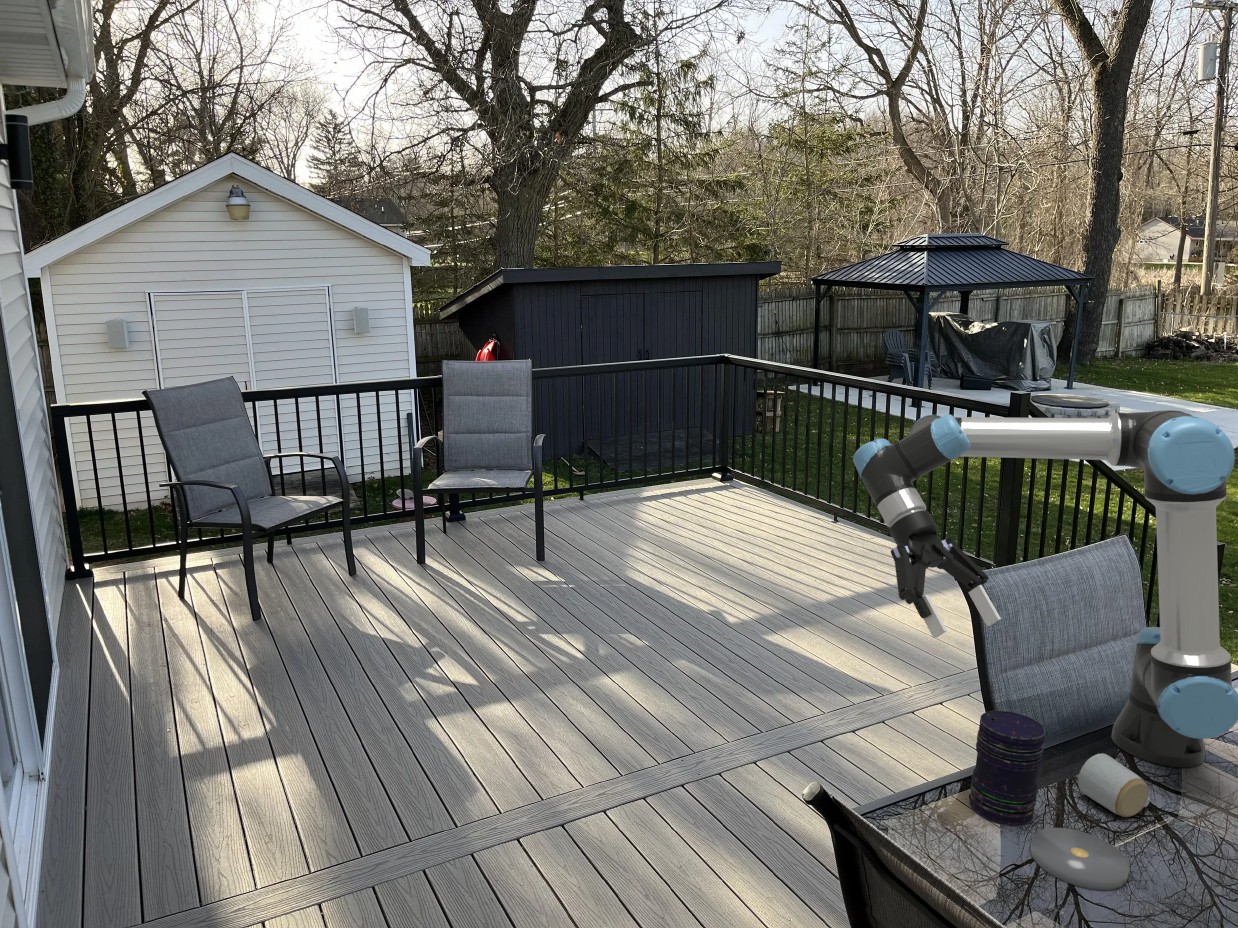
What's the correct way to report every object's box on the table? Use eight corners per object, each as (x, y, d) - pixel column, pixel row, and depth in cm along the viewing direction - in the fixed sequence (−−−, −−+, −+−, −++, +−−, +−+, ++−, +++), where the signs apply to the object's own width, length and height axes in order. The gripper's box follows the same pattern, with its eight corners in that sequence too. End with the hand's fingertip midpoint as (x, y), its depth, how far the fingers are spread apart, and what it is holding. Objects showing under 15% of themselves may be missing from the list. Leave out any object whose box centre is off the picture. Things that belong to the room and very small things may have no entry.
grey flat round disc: (1123, 851, 140) (1125, 841, 139) (1131, 900, 128) (1133, 890, 128) (1030, 827, 145) (1032, 818, 145) (1030, 873, 133) (1031, 863, 133)
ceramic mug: (1115, 823, 147) (1123, 779, 146) (1073, 797, 155) (1080, 754, 153) (1162, 813, 151) (1170, 770, 150) (1118, 788, 159) (1126, 746, 157)
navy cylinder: (1037, 805, 152) (1049, 721, 149) (1030, 833, 143) (1042, 745, 140) (974, 786, 156) (984, 704, 154) (963, 813, 148) (974, 727, 145)
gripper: (941, 524, 172) (999, 627, 163) (844, 536, 159) (901, 649, 150) (968, 503, 167) (1030, 608, 157) (870, 514, 154) (932, 629, 144)
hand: (968, 628), depth 153 cm, fingers open, 13 cm apart
